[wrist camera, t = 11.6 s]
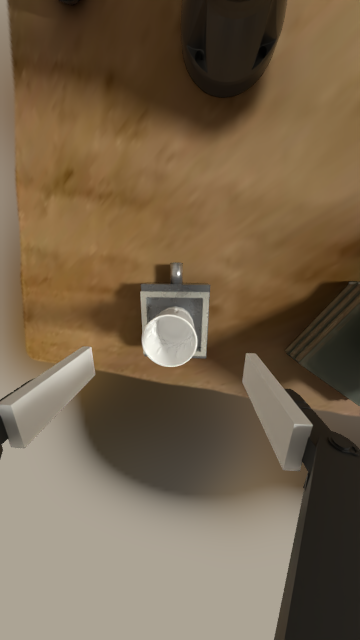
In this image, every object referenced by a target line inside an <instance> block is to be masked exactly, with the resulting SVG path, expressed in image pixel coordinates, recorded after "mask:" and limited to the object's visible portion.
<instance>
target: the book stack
mask: <svg viewBox="0 0 360 640" xmlns="http://www.w3.org/2000/svg"><path fill="white" fill-rule="evenodd" d="M285 351H286V352H287V353H286V354H288V355H289V356H291V357H292V358H293V359H294V360H295V361H297V362H298V363H299V364H300V365H302V366H303V367H304V368H306V369H307V370H309V371H310V372H312V373H313V374H314V375H316V376H317V377H319V378H320V379H322V380H323V381H324V382H326V383H327V384H329V385H330V386H331V387H333V388H334V389H336V390H337V391H339V392H340V393H341V394H343V395H344V396H346V397H347V398H349V399H350V400H351V401H353V402H354V403H356V404H357V405H358V406H360V281H359V282H357V281H350V282H349V284H348V285H347V286H346V287H345V288H344V289H343V291H342V292H341V293H340V294H339V295H338V296H337V297H336V298H335V299H334V300H333V301H332V302H331V303H330V304H329V305H328V306H327V307H326V308H325V309H324V310H323V311H322V312H321V313H320V314H319V315H318V316H317V317H316V318H315V320H314V321H313V322H312V323H311V324H310V325H309V326H308V327H307V328H306V329H305V330H304V331H303V332H302V333H301V334H300V335H299V336H298V337H297V338H296V339H295V340H294V341H293V342H292V343H291V344H290V345H289V346H288V347H287V349H286V350H285Z"/></svg>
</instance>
